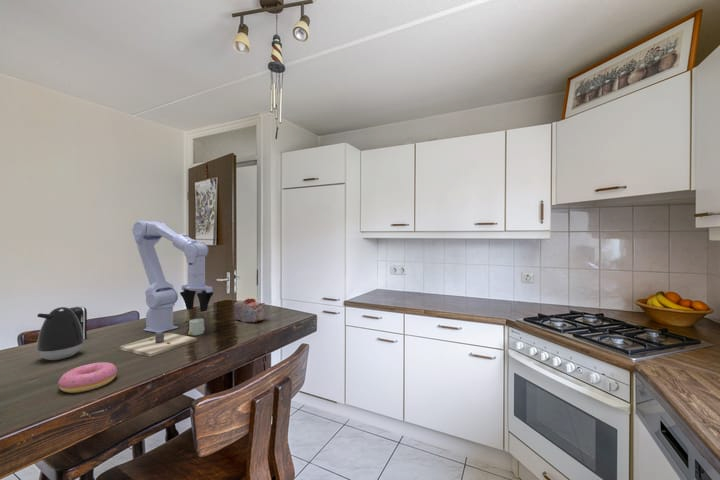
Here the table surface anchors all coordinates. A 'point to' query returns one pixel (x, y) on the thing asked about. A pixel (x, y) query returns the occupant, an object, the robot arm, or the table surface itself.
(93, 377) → the doughnut
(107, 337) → the table surface
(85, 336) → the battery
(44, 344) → the black kettle
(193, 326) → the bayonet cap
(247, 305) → the food item
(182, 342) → the post board
